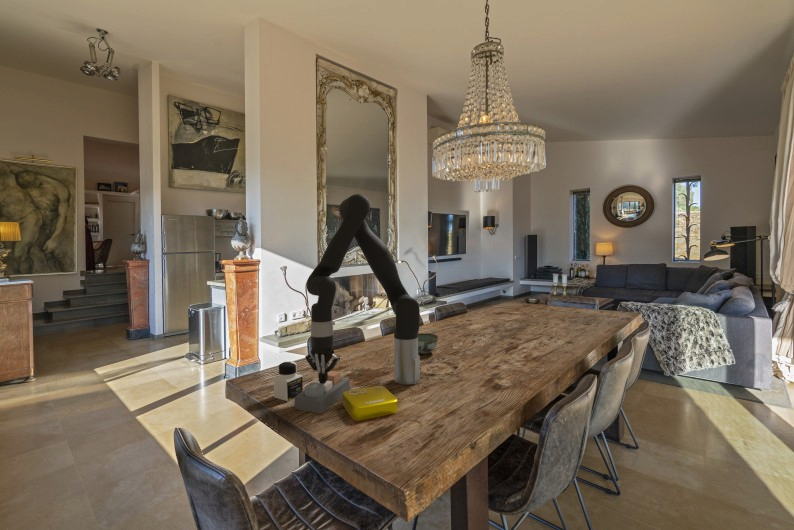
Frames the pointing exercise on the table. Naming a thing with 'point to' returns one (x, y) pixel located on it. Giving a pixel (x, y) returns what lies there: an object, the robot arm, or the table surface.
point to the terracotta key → (334, 377)
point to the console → (322, 398)
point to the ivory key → (327, 385)
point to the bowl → (426, 343)
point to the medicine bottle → (287, 382)
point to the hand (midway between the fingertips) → (323, 382)
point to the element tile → (369, 402)
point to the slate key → (314, 390)
